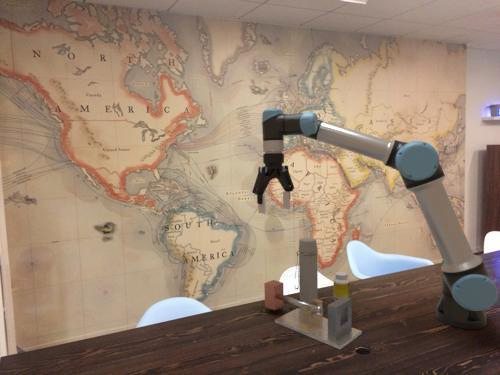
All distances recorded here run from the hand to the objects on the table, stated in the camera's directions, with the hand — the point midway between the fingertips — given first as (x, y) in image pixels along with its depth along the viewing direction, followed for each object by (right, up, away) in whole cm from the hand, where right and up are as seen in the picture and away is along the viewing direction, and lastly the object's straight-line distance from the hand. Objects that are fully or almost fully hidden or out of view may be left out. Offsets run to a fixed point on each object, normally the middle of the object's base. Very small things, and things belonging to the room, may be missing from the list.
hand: (274, 210), depth 129 cm
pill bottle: (+28, -37, +12) cm, 48 cm away
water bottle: (+14, -37, +12) cm, 42 cm away
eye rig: (+13, -39, -10) cm, 42 cm away
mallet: (+7, -36, -4) cm, 37 cm away
